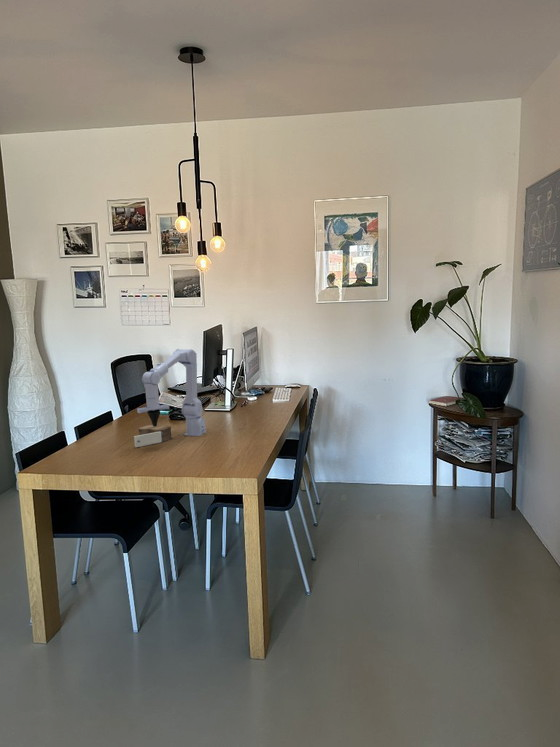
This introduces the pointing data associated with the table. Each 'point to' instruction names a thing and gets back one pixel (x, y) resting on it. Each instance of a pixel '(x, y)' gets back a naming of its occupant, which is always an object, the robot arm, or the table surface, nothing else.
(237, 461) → the table surface
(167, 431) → the cabinet
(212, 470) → the table surface
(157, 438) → the door
